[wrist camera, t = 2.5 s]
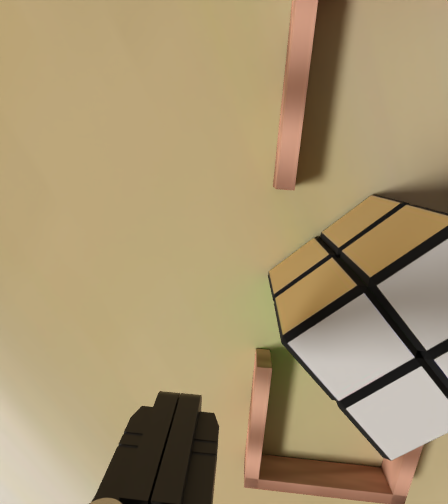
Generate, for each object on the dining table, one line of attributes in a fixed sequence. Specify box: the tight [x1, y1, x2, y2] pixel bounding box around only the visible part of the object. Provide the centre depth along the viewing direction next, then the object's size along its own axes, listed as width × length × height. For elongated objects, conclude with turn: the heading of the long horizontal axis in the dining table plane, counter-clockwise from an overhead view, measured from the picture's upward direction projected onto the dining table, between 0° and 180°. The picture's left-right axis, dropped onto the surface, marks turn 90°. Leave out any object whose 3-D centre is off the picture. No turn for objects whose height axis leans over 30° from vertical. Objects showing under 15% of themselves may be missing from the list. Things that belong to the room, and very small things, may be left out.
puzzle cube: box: [268, 195, 448, 461], centre depth 19 cm, size 10×10×10 cm
